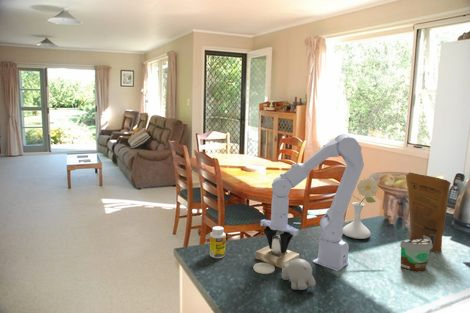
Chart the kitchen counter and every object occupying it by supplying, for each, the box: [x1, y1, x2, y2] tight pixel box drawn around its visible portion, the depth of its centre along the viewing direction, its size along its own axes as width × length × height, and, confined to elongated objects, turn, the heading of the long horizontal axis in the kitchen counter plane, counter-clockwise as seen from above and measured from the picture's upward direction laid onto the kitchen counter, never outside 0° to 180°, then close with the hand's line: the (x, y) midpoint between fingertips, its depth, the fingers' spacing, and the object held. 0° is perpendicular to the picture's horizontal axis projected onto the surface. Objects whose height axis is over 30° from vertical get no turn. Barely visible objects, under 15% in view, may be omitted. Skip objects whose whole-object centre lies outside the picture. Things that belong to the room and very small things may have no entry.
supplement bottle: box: [209, 225, 227, 259], centre depth 129 cm, size 6×6×10 cm
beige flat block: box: [255, 245, 301, 269], centre depth 128 cm, size 12×9×2 cm
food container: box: [399, 235, 433, 273], centre depth 122 cm, size 12×6×10 cm, turn 117°
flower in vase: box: [343, 177, 380, 240], centre depth 149 cm, size 13×11×25 cm
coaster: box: [253, 262, 276, 275], centre depth 121 cm, size 7×7×1 cm
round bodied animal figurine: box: [281, 258, 317, 291], centre depth 110 cm, size 7×12×8 cm, turn 30°
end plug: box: [271, 234, 284, 257], centre depth 127 cm, size 4×4×8 cm
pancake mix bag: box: [405, 171, 452, 253], centre depth 142 cm, size 7×19×28 cm, turn 16°
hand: (277, 250), depth 127 cm, fingers closed on end plug, 4 cm apart
